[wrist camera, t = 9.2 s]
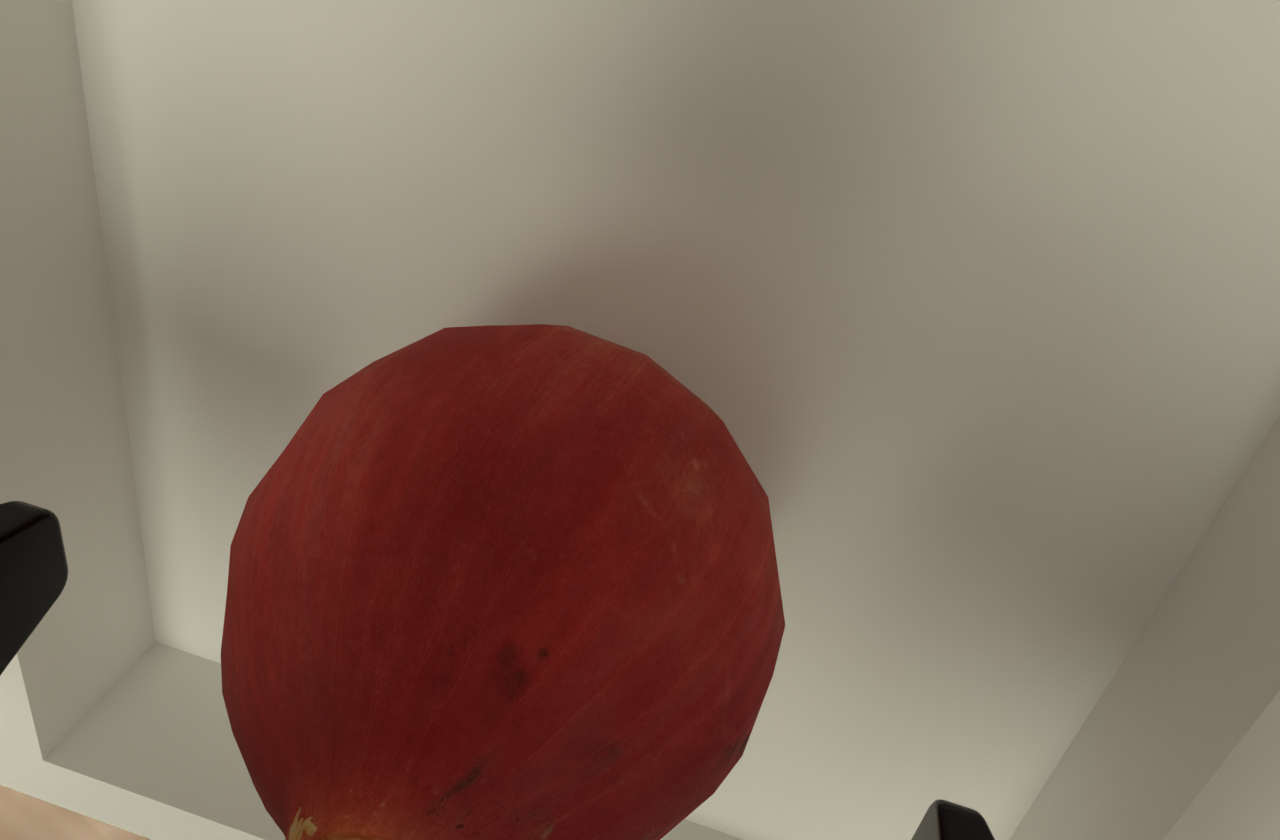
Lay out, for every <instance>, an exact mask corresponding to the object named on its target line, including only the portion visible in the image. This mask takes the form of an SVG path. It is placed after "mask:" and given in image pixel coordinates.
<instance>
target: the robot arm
mask: <svg viewBox="0 0 1280 840" xmlns="http://www.w3.org/2000/svg"><path fill="white" fill-rule="evenodd" d="M67 578H68V564H67V559H66V553H65V548H64V543H63V537H62V532H61V527H60V522H59V519H58V518H57V516H56V515H55V514H54V513H53V512H52V511H50V510H47V509H44V508H41V507H38V506H35V505H32V504H29V503H26V502H22V501H10V502H6V503H2V504H0V675H1V674H2V673H3V671H4V670H5V669H6V667H7V666H8V665H9V663H10V662H11V661H12V659H13V658H14V657H15V655H16V654H17V652H18V651H19V650H20V648H21V647H22V646H23V644H24V643H25V642H26V640H27V639H28V638H29V636H30V635H31V634H32V632H33V631H34V630H35V628H36V627H37V626H38V624H39V623H40V622H41V620H42V619H43V618H44V616H45V615H46V614H47V612H48V611H49V609H50V608H51V607H52V605H53V604H54V603H55V601H56V600H57V599H58V597H59V596H60V594H61V593H62V591H63V589H64V587H65V585H66V582H67ZM911 840H995V839H994V837H993V835H992V833H991V831H990V829H989V827H988V825H987V823H986V821H985V819H984V818H983V816H982V815H981V814H980V813H979V812H978V811H976V810H974V809H971V808H968V807H965V806H962V805H959V804H956V803H952V802H949V801H946V800H943V799H938V800H935V801H934V802H933V803H932V804H931V805H930V806H929V808H928V810H927V812H926V813H925V815H924V817H923V819H922V821H921V823H920V824H919V826H918V828H917V830H916V832H915V834H914V835H913V837H912V839H911Z"/></svg>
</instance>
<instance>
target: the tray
mask: <svg viewBox="0 0 1280 840" xmlns="http://www.w3.org/2000/svg"><path fill="white" fill-rule="evenodd" d="M533 324H547V325H561V326H570V327H572V328H575V329H578V330H581V331H583V332H586V333H589V334H591V335H594V336H597V337H600V338H602V339H605V340H608V341H610V342H613V343H616V344H618V345H621V346H624V347H627V348H629V349H632V350H635V351H637V352H640V353H643V354H646V355H647V356H649V357H650V358H651V359H652V360H654V361H655V362H656V363H657V364H658V365H660V366H661V367H662V368H663V369H664V370H666V371H667V372H668V373H669V374H671V375H672V376H673V377H674V378H675V379H677V380H678V381H679V382H680V383H682V384H683V385H684V386H685V387H686V388H688V389H689V390H690V391H691V392H692V393H694V394H695V395H696V396H697V397H699V398H700V399H701V400H702V401H703V402H705V403H706V404H707V405H708V406H709V407H710V408H711V409H712V410H713V411H714V412H715V413H716V414H717V415H718V416H719V417H720V419H721V420H722V421H723V422H724V424H725V425H726V427H727V429H728V430H729V432H730V434H731V435H732V437H733V439H734V440H735V442H736V444H737V445H738V447H739V449H740V451H741V452H742V454H743V456H744V457H745V459H746V461H747V462H748V464H749V466H750V467H751V469H752V471H753V472H754V474H755V476H756V477H757V479H758V481H759V482H760V484H761V486H762V487H763V489H764V491H765V493H766V494H767V496H768V499H769V507H770V515H771V522H772V530H773V538H774V545H775V553H776V560H777V567H778V575H779V582H780V590H781V597H782V605H783V612H784V619H785V629H784V633H783V637H782V641H781V645H780V649H779V653H778V657H777V661H776V665H775V669H774V673H773V676H772V679H771V682H770V684H769V687H768V690H767V692H766V695H765V698H764V700H763V703H762V705H761V708H760V711H759V713H758V716H757V719H756V721H755V724H754V727H753V729H752V732H751V734H750V737H749V740H748V742H747V745H746V748H745V750H744V753H743V756H742V757H741V758H740V760H739V761H738V762H737V764H736V765H735V766H734V768H733V769H732V770H731V772H730V773H729V774H728V776H727V777H726V778H725V779H724V781H723V782H722V783H721V785H720V786H719V787H718V789H717V790H716V791H715V793H714V794H713V795H712V796H710V797H709V798H708V799H707V800H706V801H705V802H704V803H702V804H701V805H700V806H699V807H698V808H697V809H695V810H694V811H693V812H692V813H691V814H690V815H688V816H687V817H686V818H685V819H684V820H683V821H681V822H680V823H679V824H678V825H677V826H676V827H674V828H673V829H672V830H671V831H670V832H669V833H667V834H666V835H665V836H664V837H663V838H662V839H660V840H911V839H912V837H913V835H914V834H915V832H916V830H917V828H918V826H919V824H920V823H921V821H922V819H923V817H924V815H925V813H926V812H927V810H928V808H929V806H930V805H931V804H932V803H933V802H934V801H935V800H938V799H943V800H946V801H949V802H952V803H956V804H959V805H962V806H965V807H968V808H971V809H974V810H976V811H978V812H979V813H980V814H981V815H982V816H983V818H984V819H985V821H986V823H987V825H988V827H989V829H990V831H991V833H992V835H993V837H994V839H995V840H1280V0H0V504H2V503H6V502H10V501H22V502H26V503H29V504H32V505H35V506H38V507H41V508H44V509H47V510H50V511H52V512H53V513H54V514H55V515H56V516H57V518H58V519H59V522H60V527H61V532H62V537H63V543H64V548H65V553H66V559H67V564H68V578H67V582H66V585H65V587H64V589H63V591H62V593H61V594H60V596H59V597H58V599H57V600H56V601H55V603H54V604H53V605H52V607H51V608H50V609H49V611H48V612H47V614H46V615H45V616H44V618H43V619H42V620H41V622H40V623H39V624H38V626H37V627H36V628H35V630H34V631H33V632H32V634H31V635H30V636H29V638H28V639H27V640H26V642H25V643H24V644H23V646H22V647H21V648H20V650H19V651H18V652H17V654H16V655H15V657H14V658H13V659H12V661H11V662H10V663H9V665H8V666H7V667H6V669H5V670H4V671H3V673H2V674H1V675H0V785H2V786H4V787H7V788H10V789H13V790H16V791H18V792H21V793H24V794H27V795H29V796H32V797H35V798H38V799H40V800H43V801H46V802H49V803H51V804H54V805H57V806H60V807H63V808H65V809H68V810H71V811H74V812H76V813H79V814H82V815H85V816H87V817H90V818H93V819H96V820H99V821H101V822H104V823H107V824H110V825H112V826H115V827H118V828H121V829H123V830H126V831H129V832H132V833H134V834H137V835H140V836H143V837H146V838H148V839H151V840H285V839H286V838H285V836H284V834H283V832H282V831H281V830H280V828H279V827H278V826H277V824H276V823H275V822H274V820H273V819H272V817H271V816H270V815H269V813H268V812H267V811H266V809H265V807H264V805H263V803H262V801H261V799H260V797H259V795H258V793H257V791H256V789H255V787H254V785H253V782H252V780H251V777H250V775H249V772H248V770H247V767H246V765H245V762H244V760H243V757H242V755H241V752H240V750H239V747H238V745H237V743H236V740H235V738H234V735H233V733H232V729H231V725H230V721H229V717H228V714H227V710H226V706H225V702H224V698H223V694H222V676H221V645H222V635H223V626H224V616H225V607H226V597H227V586H228V573H229V560H230V547H231V543H232V540H233V537H234V535H235V532H236V529H237V527H238V524H239V521H240V518H241V516H242V513H243V510H244V508H245V505H246V502H247V499H248V497H249V495H250V494H251V493H252V492H253V490H254V489H255V488H256V486H257V485H258V484H259V482H260V481H261V480H262V478H263V477H264V476H265V474H266V473H267V472H268V470H269V469H270V468H271V467H272V465H273V464H274V463H275V461H276V460H277V459H278V457H279V456H280V455H281V453H282V452H283V451H284V449H285V448H286V446H287V445H288V444H289V442H290V441H291V439H292V438H293V436H294V435H295V434H296V432H297V431H298V429H299V428H300V426H301V425H302V424H303V422H304V421H305V419H306V418H307V416H308V415H309V414H310V412H311V411H312V409H313V408H314V406H315V405H316V404H317V402H318V401H319V399H320V398H321V396H322V395H323V394H324V393H326V392H327V391H329V390H330V389H332V388H333V387H335V386H336V385H338V384H339V383H341V382H343V381H344V380H346V379H347V378H349V377H350V376H352V375H353V374H355V373H357V372H358V371H360V370H361V369H363V368H364V367H366V366H367V365H369V364H371V363H372V362H374V361H376V360H378V359H380V358H382V357H384V356H387V355H389V354H391V353H393V352H395V351H397V350H399V349H401V348H403V347H405V346H408V345H410V344H412V343H414V342H416V341H418V340H420V339H422V338H424V337H426V336H429V335H431V334H433V333H435V332H437V331H439V330H441V329H443V328H449V327H468V326H487V325H533Z"/></svg>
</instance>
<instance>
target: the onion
mask: <svg viewBox="0 0 1280 840" xmlns="http://www.w3.org/2000/svg"><path fill="white" fill-rule="evenodd" d="M784 629H785V619H784V612H783V605H782V597H781V590H780V582H779V575H778V567H777V560H776V553H775V545H774V538H773V530H772V522H771V515H770V507H769V499H768V496H767V494H766V493H765V491H764V489H763V487H762V486H761V484H760V482H759V481H758V479H757V477H756V476H755V474H754V472H753V471H752V469H751V467H750V466H749V464H748V462H747V461H746V459H745V457H744V456H743V454H742V452H741V451H740V449H739V447H738V445H737V444H736V442H735V440H734V439H733V437H732V435H731V434H730V432H729V430H728V429H727V427H726V425H725V424H724V422H723V421H722V420H721V419H720V417H719V416H718V415H717V414H716V413H715V412H714V411H713V410H712V409H711V408H710V407H709V406H708V405H707V404H706V403H705V402H703V401H702V400H701V399H700V398H699V397H697V396H696V395H695V394H694V393H692V392H691V391H690V390H689V389H688V388H686V387H685V386H684V385H683V384H682V383H680V382H679V381H678V380H677V379H675V378H674V377H673V376H672V375H671V374H669V373H668V372H667V371H666V370H664V369H663V368H662V367H661V366H660V365H658V364H657V363H656V362H655V361H654V360H652V359H651V358H650V357H649V356H647V355H646V354H643V353H640V352H637V351H635V350H632V349H629V348H627V347H624V346H621V345H618V344H616V343H613V342H610V341H608V340H605V339H602V338H600V337H597V336H594V335H591V334H589V333H586V332H583V331H581V330H578V329H575V328H572V327H570V326H561V325H547V324H533V325H487V326H468V327H449V328H443V329H441V330H439V331H437V332H435V333H433V334H431V335H429V336H426V337H424V338H422V339H420V340H418V341H416V342H414V343H412V344H410V345H408V346H405V347H403V348H401V349H399V350H397V351H395V352H393V353H391V354H389V355H387V356H384V357H382V358H380V359H378V360H376V361H374V362H372V363H371V364H369V365H367V366H366V367H364V368H363V369H361V370H360V371H358V372H357V373H355V374H353V375H352V376H350V377H349V378H347V379H346V380H344V381H343V382H341V383H339V384H338V385H336V386H335V387H333V388H332V389H330V390H329V391H327V392H326V393H324V394H323V395H322V396H321V398H320V399H319V401H318V402H317V404H316V405H315V406H314V408H313V409H312V411H311V412H310V414H309V415H308V416H307V418H306V419H305V421H304V422H303V424H302V425H301V426H300V428H299V429H298V431H297V432H296V434H295V435H294V436H293V438H292V439H291V441H290V442H289V444H288V445H287V446H286V448H285V449H284V451H283V452H282V453H281V455H280V456H279V457H278V459H277V460H276V461H275V463H274V464H273V465H272V467H271V468H270V469H269V470H268V472H267V473H266V474H265V476H264V477H263V478H262V480H261V481H260V482H259V484H258V485H257V486H256V488H255V489H254V490H253V492H252V493H251V494H250V495H249V497H248V499H247V502H246V505H245V508H244V510H243V513H242V516H241V518H240V521H239V524H238V527H237V529H236V532H235V535H234V537H233V540H232V543H231V547H230V560H229V573H228V586H227V597H226V607H225V616H224V626H223V635H222V645H221V676H222V694H223V698H224V702H225V706H226V710H227V714H228V717H229V721H230V725H231V729H232V733H233V735H234V738H235V740H236V743H237V745H238V747H239V750H240V752H241V755H242V757H243V760H244V762H245V765H246V767H247V770H248V772H249V775H250V777H251V780H252V782H253V785H254V787H255V789H256V791H257V793H258V795H259V797H260V799H261V801H262V803H263V805H264V807H265V809H266V811H267V812H268V813H269V815H270V816H271V817H272V819H273V820H274V822H275V823H276V824H277V826H278V827H279V828H280V830H281V831H282V832H283V834H284V836H285V838H286V839H285V840H660V839H662V838H663V837H664V836H665V835H666V834H667V833H669V832H670V831H671V830H672V829H673V828H674V827H676V826H677V825H678V824H679V823H680V822H681V821H683V820H684V819H685V818H686V817H687V816H688V815H690V814H691V813H692V812H693V811H694V810H695V809H697V808H698V807H699V806H700V805H701V804H702V803H704V802H705V801H706V800H707V799H708V798H709V797H710V796H712V795H713V794H714V793H715V791H716V790H717V789H718V787H719V786H720V785H721V783H722V782H723V781H724V779H725V778H726V777H727V776H728V774H729V773H730V772H731V770H732V769H733V768H734V766H735V765H736V764H737V762H738V761H739V760H740V758H741V757H742V756H743V753H744V750H745V748H746V745H747V742H748V740H749V737H750V734H751V732H752V729H753V727H754V724H755V721H756V719H757V716H758V713H759V711H760V708H761V705H762V703H763V700H764V698H765V695H766V692H767V690H768V687H769V684H770V682H771V679H772V676H773V673H774V669H775V665H776V661H777V657H778V653H779V649H780V645H781V641H782V637H783V633H784Z"/></svg>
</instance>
